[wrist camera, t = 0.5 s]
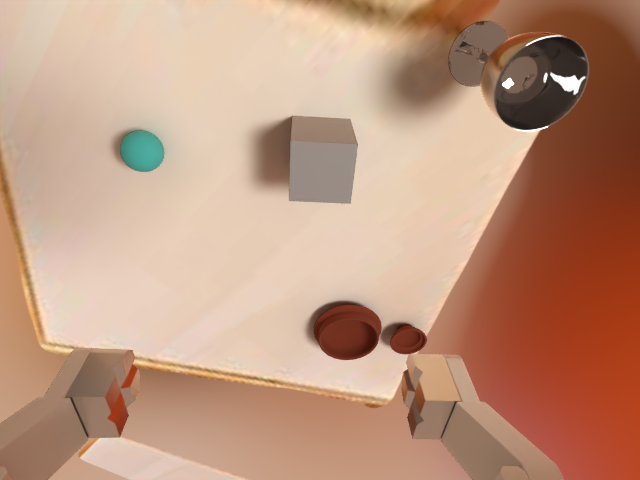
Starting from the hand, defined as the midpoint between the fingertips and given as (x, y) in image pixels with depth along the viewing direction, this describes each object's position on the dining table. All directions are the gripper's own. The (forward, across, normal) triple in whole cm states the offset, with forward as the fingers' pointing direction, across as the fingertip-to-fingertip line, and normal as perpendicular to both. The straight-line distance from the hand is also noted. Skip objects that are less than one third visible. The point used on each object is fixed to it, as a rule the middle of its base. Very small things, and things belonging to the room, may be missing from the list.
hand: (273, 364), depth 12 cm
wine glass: (+43, -21, -3) cm, 48 cm away
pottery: (+44, -14, +42) cm, 62 cm away
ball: (+40, +19, +10) cm, 46 cm away
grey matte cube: (+43, -3, +9) cm, 44 cm away
